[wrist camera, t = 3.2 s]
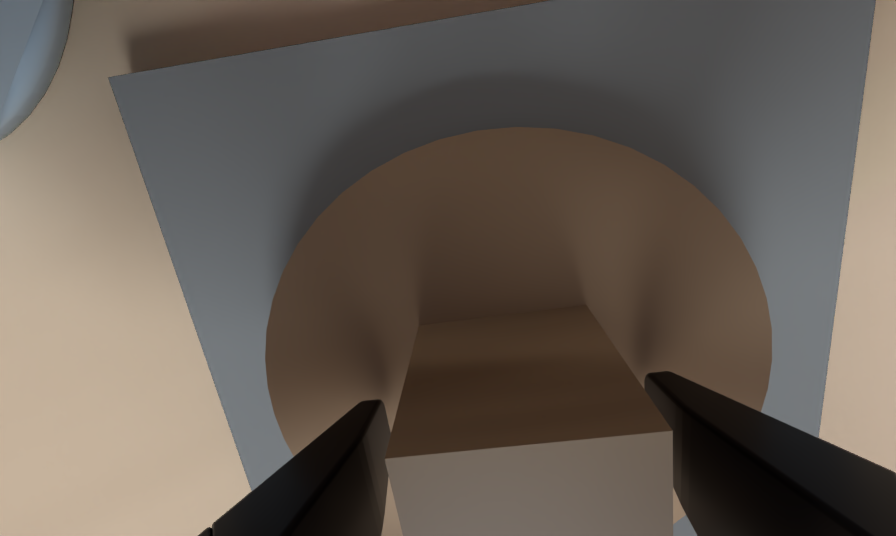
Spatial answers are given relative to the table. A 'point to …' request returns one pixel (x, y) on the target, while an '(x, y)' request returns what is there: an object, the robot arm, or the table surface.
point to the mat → (503, 106)
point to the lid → (517, 330)
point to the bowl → (29, 54)
